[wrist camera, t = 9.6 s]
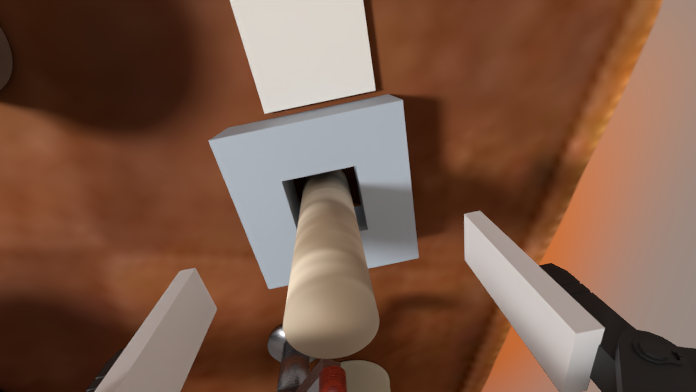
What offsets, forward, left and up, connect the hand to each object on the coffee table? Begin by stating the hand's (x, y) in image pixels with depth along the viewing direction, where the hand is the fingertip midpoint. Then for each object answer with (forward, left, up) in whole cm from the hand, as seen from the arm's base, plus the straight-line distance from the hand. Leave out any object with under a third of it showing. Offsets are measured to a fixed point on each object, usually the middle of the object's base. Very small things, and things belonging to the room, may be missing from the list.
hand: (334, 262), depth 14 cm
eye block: (0, 0, -10) cm, 10 cm away
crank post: (-7, -17, -10) cm, 21 cm away
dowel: (0, 0, -10) cm, 10 cm away
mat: (+1, +10, -10) cm, 14 cm away
